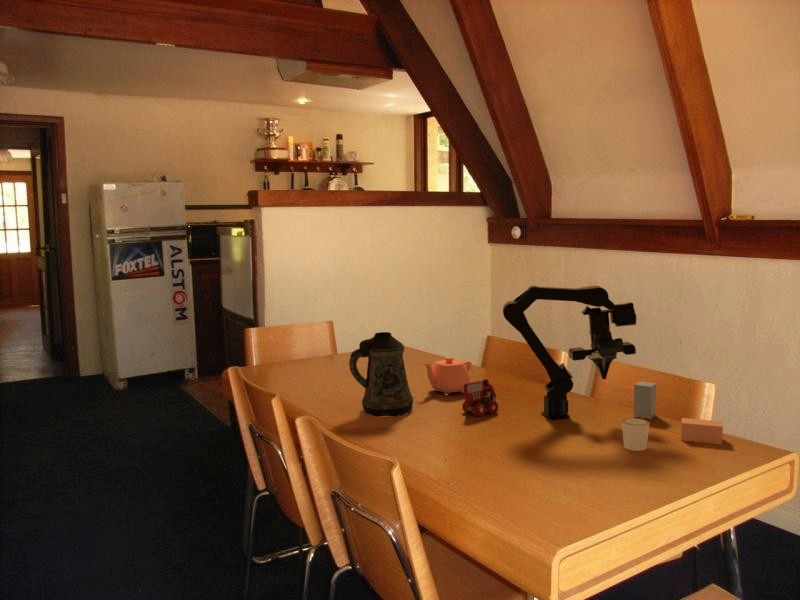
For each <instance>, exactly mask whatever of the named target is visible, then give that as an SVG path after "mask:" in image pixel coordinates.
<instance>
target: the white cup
mask: <svg viewBox="0 0 800 600" xmlns="http://www.w3.org/2000/svg"><path fill="white" fill-rule="evenodd" d="M621 426H622V427H621V428H622V438H623V439H622V440H623V441H622V442H623V448H624V449H626V450H629V451H634V452H636V451H637V452H639V451H640V452H641V451H645V450H646V449H647V447H648V441H649V440H648V439H649V438H648V437H649V431H650V422H649V421H648V419H643V418H636V417H629V418H627V417H626V418H624V419H622V420H621Z"/></svg>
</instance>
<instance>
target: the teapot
mask: <svg viewBox="0 0 800 600" xmlns="http://www.w3.org/2000/svg"><path fill="white" fill-rule="evenodd" d="M422 365H424V366H425V367H426V373H427V379H428V380H429V383H430V385H431V387H432V388H433V389H434V391H435V390H437V391H440V392H443V395H444V394H450V393H458V392H463V391H464V384H465V383H470V381H471V380H470V376H469V373H470V370H471V368H472V362H471V361H470V360H465V361H460V360H456V359H454V357H452V356H447V357H445V359H443V360H436V361H435V362H434V364H433V365H432V366H431V364H430V363H428V362H422Z"/></svg>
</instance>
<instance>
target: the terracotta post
mask: <svg viewBox="0 0 800 600" xmlns="http://www.w3.org/2000/svg"><path fill="white" fill-rule="evenodd" d="M680 428H681V431H680V441H682V440H683V441H684V442H692V441H694V442H695V443H702V442H705V444H714V445H715V444H716V445H723V434H724V432H723V431H724V426H723V421H722V420H721V421H720V420H709V419H699V418H686V417H681V427H680Z"/></svg>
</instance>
